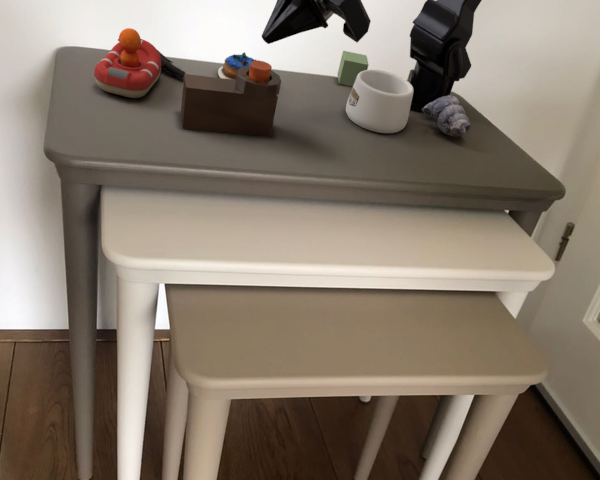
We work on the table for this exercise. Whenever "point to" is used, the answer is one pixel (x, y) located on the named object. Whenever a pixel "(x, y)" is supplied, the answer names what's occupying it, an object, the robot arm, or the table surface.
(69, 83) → the table surface
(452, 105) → the grub
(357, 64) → the green cube block
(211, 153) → the table surface
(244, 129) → the brown button base
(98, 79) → the toy boat
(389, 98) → the mug
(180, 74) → the bird model
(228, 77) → the dessert
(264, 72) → the button
